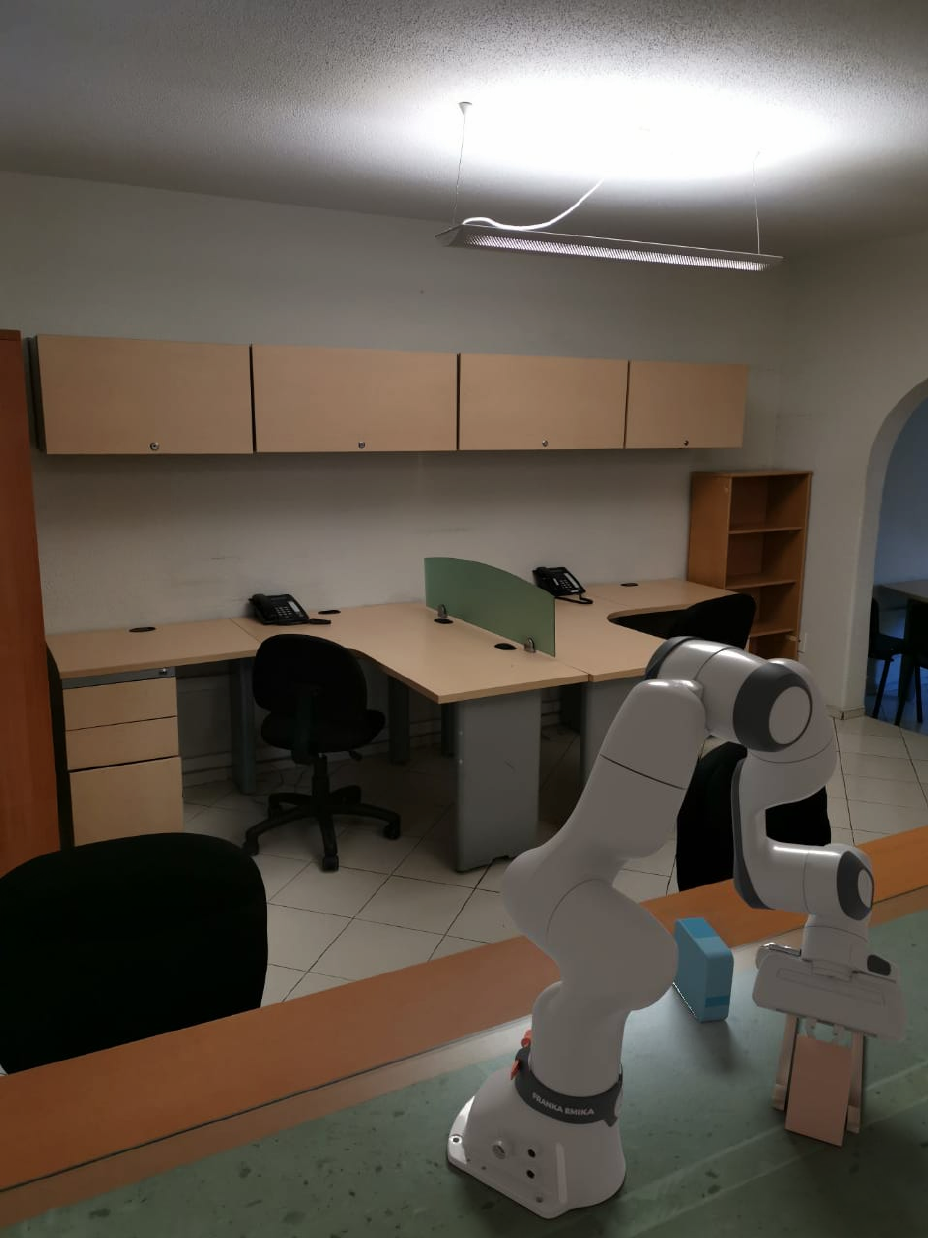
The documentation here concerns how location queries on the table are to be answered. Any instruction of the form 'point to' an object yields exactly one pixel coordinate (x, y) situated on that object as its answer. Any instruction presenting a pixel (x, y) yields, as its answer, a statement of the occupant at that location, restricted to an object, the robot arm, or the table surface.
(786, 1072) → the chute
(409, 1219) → the table surface
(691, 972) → the data package
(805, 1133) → the block
